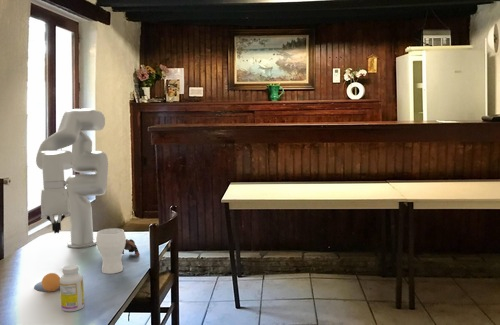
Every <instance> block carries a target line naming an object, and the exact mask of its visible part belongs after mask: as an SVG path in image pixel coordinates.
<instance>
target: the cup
mask: <svg viewBox="0 0 500 325" xmlns="http://www.w3.org/2000/svg"><path fill="white" fill-rule="evenodd" d="M95 239H96V244H95V245H96V248H97V251H98V252H99V254H100V256H101V259H102V260H101V261H102V266H101V273H102V274H110V275H111V274H117V273H121V272H122V271H123V270H124V266H123V262H122V257H123V256H122V255H123V254H122V252H123V250H124V251H125V249H124V248H125V244H126V239H127V237H126V234H125V230H124V229H122V228H104V229H101V230H98V231H97V234H96V237H95Z"/></svg>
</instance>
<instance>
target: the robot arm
mask: <svg viewBox="0 0 500 325" xmlns="http://www.w3.org/2000/svg"><path fill="white" fill-rule="evenodd" d="M105 125H106V118H105V115H104V114H103V112H102V111H99V110H96V109H94V108H93V109H92V108H81V109H80V108H74V109H67V110H66V111H65V112H64V114H63V116H62V118H61V120H60V123H59V126H58V129H57V131H56V132H55V133H53V134H50V136H48V137H47V138H46V139H44V140H43V141H42V142H41V144H40V146H39V148H38V150H37V153H36V158H35V163H36V167H37V168H39V170H42V181H43V182H42V183H43V188H41V194H40V212H41V214H40V219H43V220H44V219H45V220H47V221H50V224H51V230H52V232H54V234H59V233H60V231H62V224H61V222H62V221H63V220H64V219H65V218H69V226H70V228H69V229H70V241H68V242H67V246H68V247H69V248H73V249H79V248H89V247H93V246H95V245H97V244H96V238H94V229H93V227H94V224H93V208H92V203H91V202H90V200H89V198H88V197H89V196H90V197H91V196H103V195H105V194H106V192H107V190H108V174H109V173H108V171H109V159H108V155H107V153H106V152H104V151H101V150H93V141H92V139H91V137H90V136H89V135H88V134H87V133H86V132H87V131H89V132H90V131H92V132H93V131H102V130H103V129H104V127H105ZM85 131H86V132H85ZM69 146H72V149H71V151H70V150H61V149H64V148H67V147H69ZM65 170H72V171H73V172H76V173H79V174H72V175H70V176H68V177H67V178H66V180H65ZM80 173H82V174H80ZM85 173H86V174H85ZM87 173H90V174H87ZM92 173H93V174H92ZM94 173H95V174H94ZM55 216H57V220H56V219H55Z"/></svg>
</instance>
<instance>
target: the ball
mask: <svg viewBox="0 0 500 325" xmlns="http://www.w3.org/2000/svg"><path fill="white" fill-rule="evenodd" d="M60 278H61V276H60V275H59V274H57V273H54V272H49V273H47V274H45V275H44V276H43V278H42V280H41V282H42V287H43V288H44V289H45V290H46V291H45V292H56V291H55V290H57V289H58V288H59V286H60ZM57 291H58V290H57Z"/></svg>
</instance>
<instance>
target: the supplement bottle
mask: <svg viewBox="0 0 500 325" xmlns="http://www.w3.org/2000/svg"><path fill="white" fill-rule="evenodd" d="M61 269H62V270H61V271H62V275H61V276H60V290H59V292H60V307H61V310H62V311H64V312H76V311H79V310H81V309H83V308H84V307H85V296H84V294H85V293H84V292H85V291H84V278H83V275H82V274H81V273H79V271H80V269H79V265H76V264H73V265H72V264H71V265H65V266H63V267H62V268H61Z"/></svg>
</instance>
